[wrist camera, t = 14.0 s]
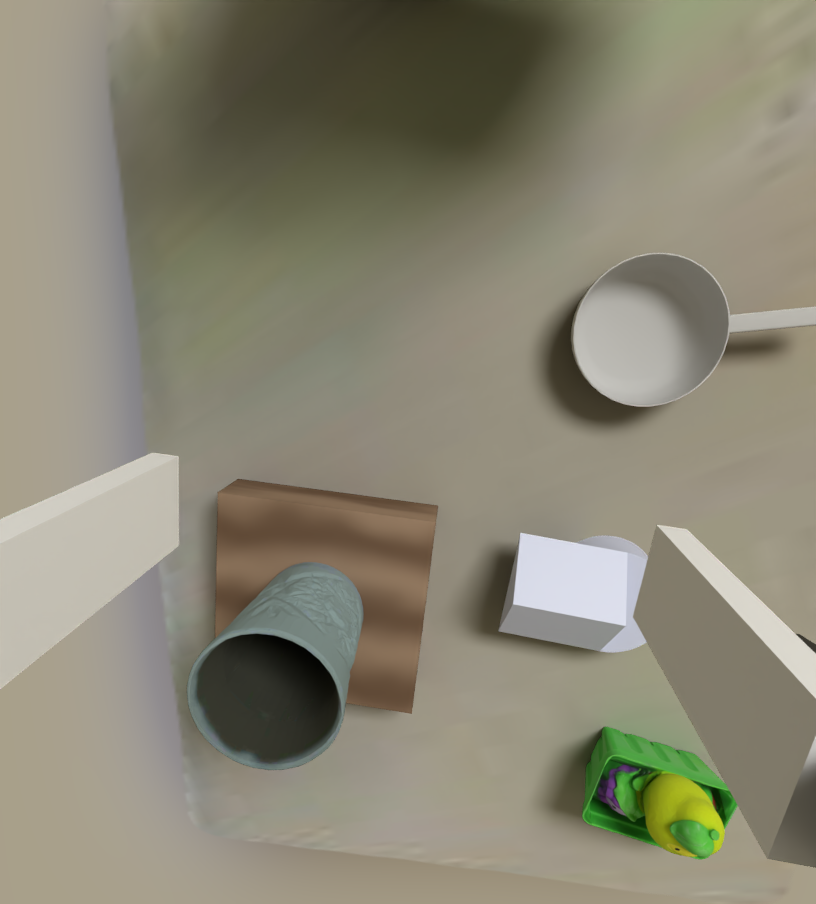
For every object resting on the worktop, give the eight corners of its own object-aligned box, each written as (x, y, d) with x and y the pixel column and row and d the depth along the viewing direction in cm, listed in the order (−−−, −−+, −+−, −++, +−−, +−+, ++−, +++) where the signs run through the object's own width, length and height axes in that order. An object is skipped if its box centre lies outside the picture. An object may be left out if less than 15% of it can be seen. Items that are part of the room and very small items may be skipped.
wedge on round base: (495, 610, 47) (640, 638, 46) (501, 655, 40) (669, 689, 40) (516, 518, 45) (668, 546, 44) (525, 550, 38) (704, 583, 38)
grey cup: (257, 649, 46) (187, 759, 34) (257, 543, 43) (183, 621, 32) (370, 664, 45) (339, 781, 33) (377, 556, 42) (346, 642, 31)
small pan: (561, 267, 40) (571, 261, 36) (814, 239, 38) (852, 229, 34) (566, 406, 42) (576, 413, 39) (804, 386, 40) (839, 391, 36)
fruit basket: (567, 774, 50) (597, 898, 39) (600, 699, 48) (641, 808, 37) (682, 810, 50) (744, 945, 39) (720, 736, 48) (798, 857, 37)
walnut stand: (238, 478, 46) (218, 492, 42) (437, 505, 45) (435, 522, 41) (232, 654, 51) (214, 681, 47) (415, 683, 49) (411, 713, 45)
